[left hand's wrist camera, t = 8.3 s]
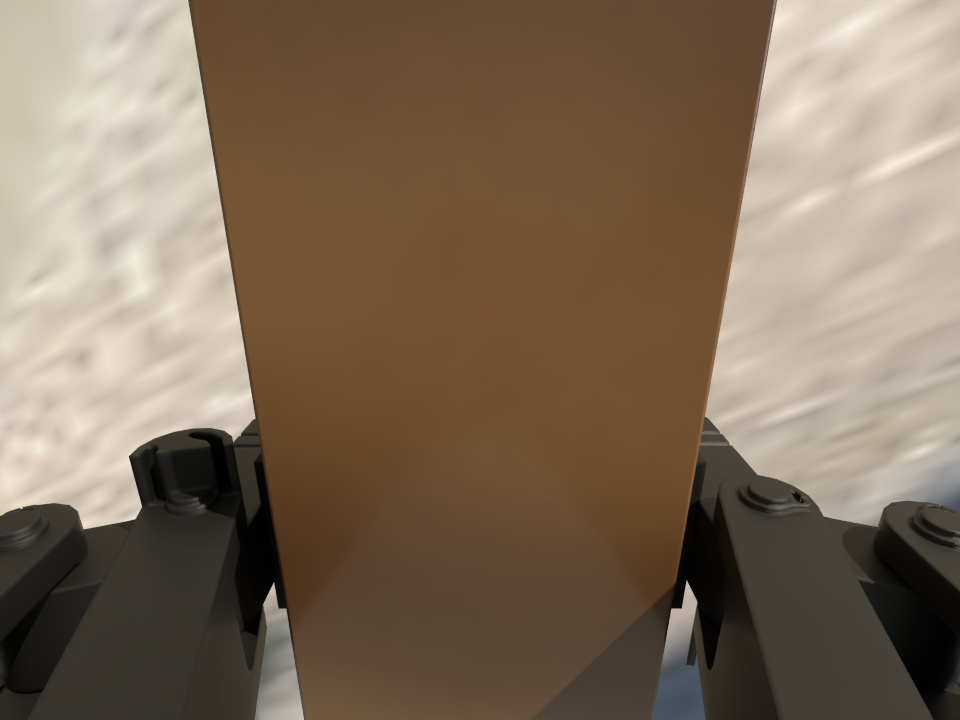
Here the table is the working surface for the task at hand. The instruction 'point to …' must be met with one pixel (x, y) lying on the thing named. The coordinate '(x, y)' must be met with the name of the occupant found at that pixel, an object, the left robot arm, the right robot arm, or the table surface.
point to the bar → (480, 329)
